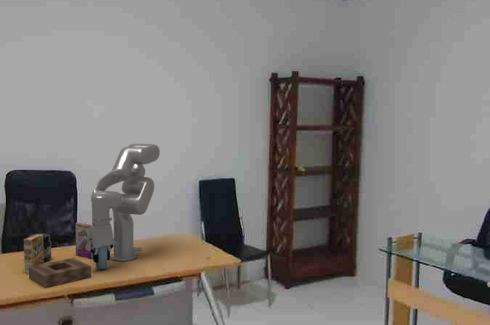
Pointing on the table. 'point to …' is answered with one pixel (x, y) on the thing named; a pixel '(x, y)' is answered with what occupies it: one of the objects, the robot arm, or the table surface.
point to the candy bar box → (83, 239)
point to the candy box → (33, 251)
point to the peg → (102, 258)
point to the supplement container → (46, 246)
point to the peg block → (59, 272)
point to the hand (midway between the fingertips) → (101, 260)
